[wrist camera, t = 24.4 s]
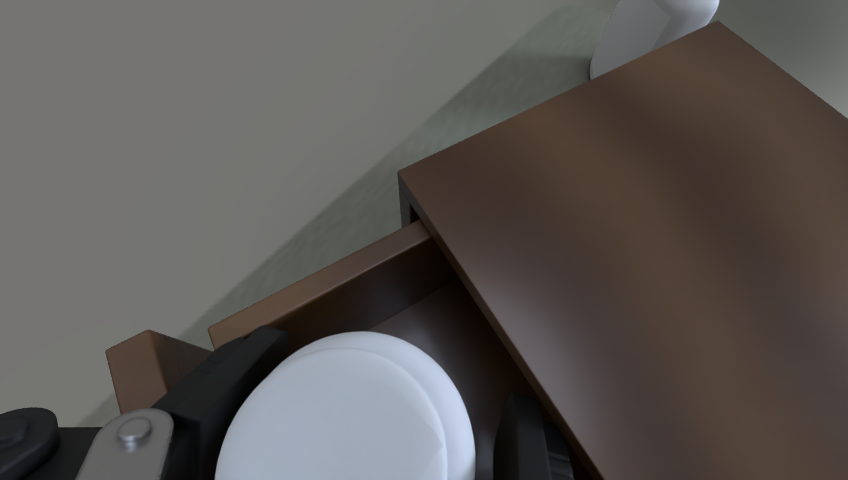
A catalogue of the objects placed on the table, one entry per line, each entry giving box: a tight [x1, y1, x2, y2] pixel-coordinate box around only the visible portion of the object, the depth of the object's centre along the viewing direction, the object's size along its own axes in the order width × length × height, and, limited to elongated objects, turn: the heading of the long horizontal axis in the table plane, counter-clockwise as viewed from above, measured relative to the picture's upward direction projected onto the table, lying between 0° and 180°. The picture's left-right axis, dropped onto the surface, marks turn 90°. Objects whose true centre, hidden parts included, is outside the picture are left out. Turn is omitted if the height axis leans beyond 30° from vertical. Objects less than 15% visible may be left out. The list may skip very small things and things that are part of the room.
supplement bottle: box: [215, 331, 476, 480], centre depth 11 cm, size 6×6×10 cm
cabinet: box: [398, 20, 848, 480], centre depth 16 cm, size 15×13×10 cm
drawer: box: [105, 219, 593, 480], centre depth 13 cm, size 18×11×8 cm, turn 121°
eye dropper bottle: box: [590, 0, 720, 80], centre depth 22 cm, size 4×6×12 cm
